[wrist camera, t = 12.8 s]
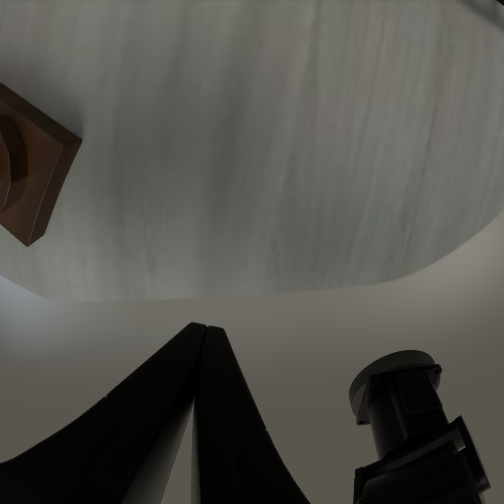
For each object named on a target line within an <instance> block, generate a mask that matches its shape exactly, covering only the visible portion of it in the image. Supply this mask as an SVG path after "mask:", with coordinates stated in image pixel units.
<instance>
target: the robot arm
mask: <svg viewBox="0 0 504 504" xmlns="http://www.w3.org/2000/svg"><path fill="white" fill-rule="evenodd" d="M441 372H442V368H441V366H440V365H439V364H436V365H430V366H425V367H419V368H413V369H407V370H400V371H393V372H386V373H379V374H373V375H371V376H369V377H368V379H367V383H366V387H365V390H364V394H363V398H362V401H361V405H360V408H359V411H358V415H357V418H356V422H357V425H366V424H370V425H371V429H372V432H373V437H374V441H375V445H376V450H377V454H378V458H379V461H377V462H374V463H372V464H370V465H367V466H365V467H360V468H357V469H355V479H354V498H353V504H486V502H485V499H484V496H483V493H482V492H484V491H486V490H488V489H489V488H491V486H490V483H489V480H488V477H487V474H486V471H485V468H484V466H483V463H482V460H481V457H480V455H479V452H478V450H477V448H476V446H475V443H474V441H473V438H472V436H471V434H470V432H469V430H468V428H467V426H466V424H465V422H464V420H463V418H462V416H461V415H460V416H459V417H457V418H456V419H455V421H453V422H451V423H450V424H449V422H448V420H447V417H446V415H445V413H444V410H443V408H442V403H441V401H440V399H439V396H438V394H437V392H436V390H435V385H436V383H437V381H438V378H439V376H440V374H441ZM193 404H194V409H193V431H192V466H191V469H192V470H191V504H310V502H309V501H308V500H307V498H306V497H305V495H304V494H303V492H302V491H301V489H300V488H299V487H298V485H297V484H296V482H295V481H294V479H293V478H292V476H291V474H290V473H289V471H288V470H287V468H286V466H285V465H284V463H283V461H282V459H281V457H280V456H279V454H278V452H277V450H276V448H275V446H274V444H273V442H272V439H271V437H270V435H269V433H268V431H267V430H266V427H265V424H264V422H263V420H262V418H261V415H260V413H259V411H258V409H257V406H256V404H255V402H254V399H253V397H252V395H251V392H250V390H249V388H248V385H247V383H246V381H245V378H244V376H243V374H242V372H241V369H240V367H239V364H238V362H237V359H236V357H235V354H234V352H233V350H232V347H231V345H230V342H229V340H228V337H227V335H226V332H225V330H224V329H223V328H220V327H215V326H208V327H207V326H206V325H205V324H199V323H195V322H191V323H189V324H188V325H187V326H186V327H185V328H184V329H182V330H181V331H180V332H179V333H178V334H177V335H176V336H174V337H173V338H172V339H171V340H170V341H169V342H168V343H166V344H165V345H164V346H163V347H162V348H160V349H159V350H158V351H157V352H156V353H155V354H153V355H152V356H151V357H150V358H149V359H148V360H146V361H145V362H144V363H143V364H142V365H141V366H140V367H138V368H137V369H136V370H135V371H134V372H133V373H131V374H130V375H129V376H128V377H127V378H126V379H124V380H123V381H122V382H121V383H120V384H119V385H117V386H116V387H115V388H114V389H113V390H112V391H110V392H109V393H108V394H107V395H106V397H103V398H102V399H101V400H99V401H98V402H97V403H96V404H95V405H94V406H92V407H91V408H90V409H89V410H87V411H86V412H85V413H84V414H82V415H81V416H80V417H78V418H77V419H76V420H74V421H73V422H71V423H70V424H68V425H67V426H66V427H64V428H62V429H61V430H59V431H58V432H56V433H55V434H53V435H51V436H50V437H48V438H46V439H45V440H43V441H41V442H40V443H38V444H37V445H35V446H34V447H32V448H30V449H29V450H27V451H25V452H23V453H22V454H20V455H18V456H16V457H15V458H13V459H10V460H8V461H5V462H2V463H0V504H160V503H161V500H162V497H163V494H164V491H165V488H166V485H167V482H168V479H169V476H170V473H171V470H172V467H173V464H174V461H175V458H176V455H177V452H178V449H179V446H180V444H181V441H182V438H183V435H184V432H185V429H186V426H187V423H188V420H189V417H190V414H191V411H192V407H193ZM463 446H465V448H464V449H462V450H460V451H458V449H460V448H461V447H463Z"/></svg>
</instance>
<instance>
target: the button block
mask: <svg viewBox="0 0 504 504" xmlns="http://www.w3.org/2000/svg"><path fill="white" fill-rule="evenodd" d="M81 143H82V140H81V139H80V138H78V137H77V136H75V135H74V134H72V133H71V132H70V131H68V130H67V129H65V128H64V127H62V126H61V125H59V124H58V123H57V122H55V121H54V120H52V119H51V118H49V117H48V116H47V115H45V114H44V113H42V112H41V111H39V110H38V109H37V108H35V107H34V106H32V105H31V104H29V103H28V102H27V101H25V100H24V99H22V98H21V97H19V96H18V95H17V94H15V93H14V92H12V91H11V90H9V89H8V88H7V87H5V86H4V85H2V84H1V83H0V224H1V225H2V226H3V227H4V228H6V229H7V230H8V231H9V232H10V233H11V234H12V235H14V236H15V237H16V238H17V239H18V240H19V241H21V242H22V243H23V244H24V245H25V246H27V247H29V246H30V245H31V244H32V243H34V242H35V241H36V240H38V239H39V238H40V237H42V236H43V235H44V233H45V230H46V227H47V224H48V221H49V219H50V216H51V213H52V210H53V208H54V205H55V202H56V200H57V197H58V195H59V192H60V190H61V187H62V185H63V182H64V180H65V178H66V175H67V173H68V171H69V168H70V166H71V164H72V162H73V160H74V157H75V155H76V153H77V151H78V149H79V147H80V145H81Z"/></svg>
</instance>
